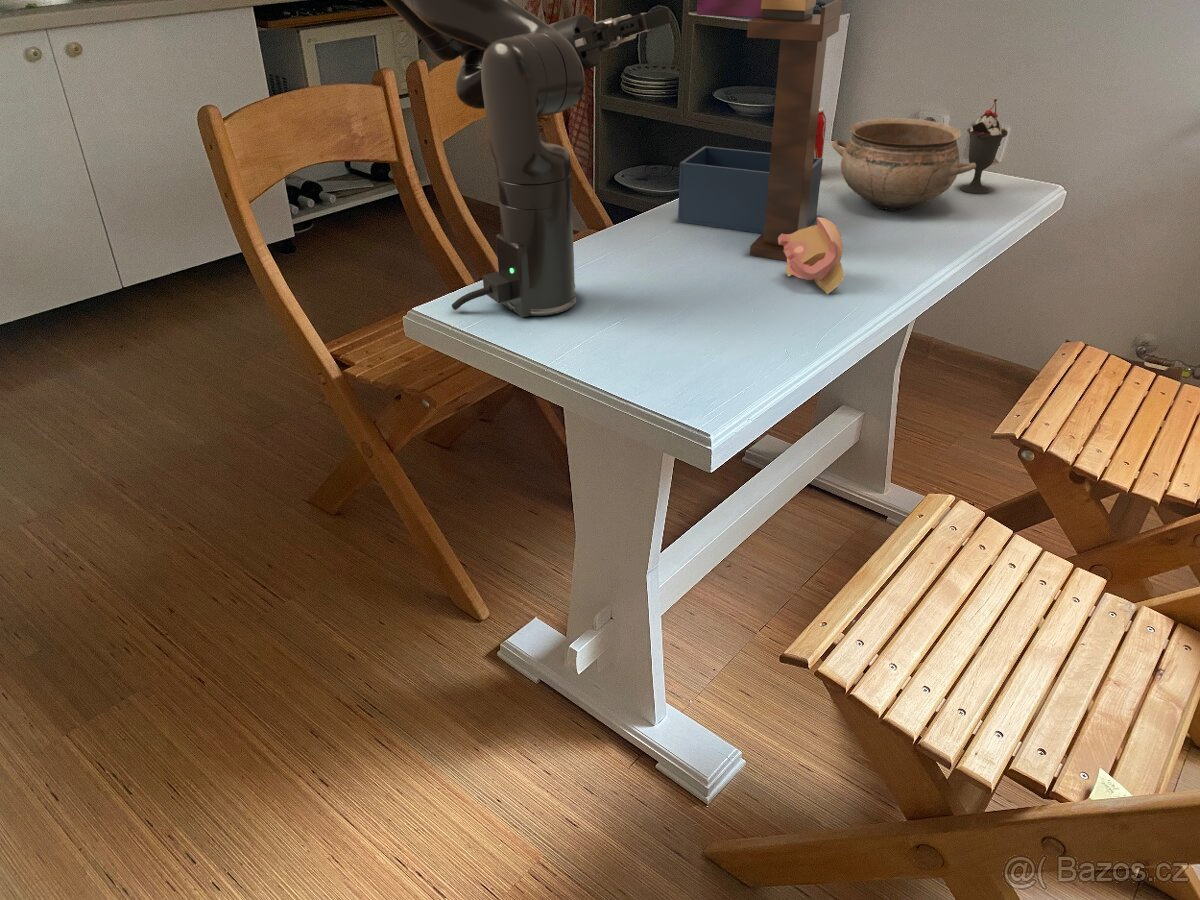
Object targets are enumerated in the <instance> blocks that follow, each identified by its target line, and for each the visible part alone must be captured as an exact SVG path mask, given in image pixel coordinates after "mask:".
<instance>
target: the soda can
mask: <svg viewBox="0 0 1200 900" xmlns="http://www.w3.org/2000/svg"><path fill="white" fill-rule="evenodd" d="M824 111H825V108H824V107H822V106H820V105H819V113H818V122H817V132H816V141H815V150H814V158H823V156H824V155H823V154H824V146H825V139H826V138H825V137H826V127H827V118H826V115H825V112H824Z"/></svg>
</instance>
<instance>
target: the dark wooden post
mask: <svg viewBox="0 0 1200 900" xmlns="http://www.w3.org/2000/svg"><path fill="white" fill-rule="evenodd" d="M842 5H843V0H833V1H831V2H830V3H826V4H825V5H823V6H821V8H820V9H821V10H820V13H819V14H816V13H815V14H814V13H813V16H812V17H810V18H808V19H806V20H804V21H791V20H769V19H762V18H755V17H754V18H752V19H750V20H748V21H747V31H746V32H747V34H746V38H747V39H748V38H749V39H763V40H765V39H768V40H780V41H779V51H778V53H779V54H778V67H777V75H776V76H777V77H776V88H775V99H774V100H775V101H774V113H773V123H772V124H773V125H772V135H771V148H770V149H771V150H770V153H771V158H770V170H769V182H768V193H767V205H766V217H765V229H764V232H763V234H762V233H761V234H760V235H759V236H758V238H757V239H756V240H754V241H753V242H752V244H751V245H750V246H749V257H750V256H751V257H758V258H765V259H771V260H778V261H784V262H787V257H786V255H785V253H784V252H783V250H784V246H783V245H779V243H778V237H779V236H780V235H781V234H792V233H794V232H796V231H798V230H800V229H804V228H806V222H807V213H808V204H809V195H810V186H811V177H812V168H813V159H814V150H815V141H816V132H817V122H818V113H819V106H820V103H821V95H822V85H823V77H824V68H825V60H826V49H827V41H828V38H830V37H832V36H833V35H835V34H837V33H839V29H840V21H841V13H842Z"/></svg>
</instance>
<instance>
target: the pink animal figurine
mask: <svg viewBox="0 0 1200 900" xmlns="http://www.w3.org/2000/svg"><path fill="white" fill-rule="evenodd" d="M842 237H843V236H842V234H841V232H840V230H839V228H838V227H837V225H835V223H833V222H832V221H831V220H829V219H827V218H825V217H816V224H815V225H811V226H808V227H807V228H804V229H800V230H798V231H796V232H794V233H792V234H781V235H780V236H779V237H778V243H779V245H783V246H784V250H783V252H784V253H785V255H786V257H787V261H786V264H787V265H786V266H785V272H786V275H787V277H791V276H795V277H796V278H799V279H803V280H806V281H811V280H813V281H814V283H815V284H816V285H817V287H819V288H820V289H821V290H822V291H823V292H825V293H826V295H828V294H830V293H832V291H834V290H835V289H836V288H837V287H838V286H839V285H840V284H841V283H842V281H843V280H844V278H845V275H844V269H843V266H842V257H843V251H844V242H843V238H842Z"/></svg>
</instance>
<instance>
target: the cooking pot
mask: <svg viewBox="0 0 1200 900" xmlns="http://www.w3.org/2000/svg"><path fill="white" fill-rule="evenodd" d="M849 131H850V133H851V137H850V138H849V140H848V142H846V141H844V140H842V139H835V140H833V141H832V143H831V147H832V148H833V150H835V151H836V153H837V154H838V155H839V156H841V162H840V170H841V174H842V176H843V177H842V178H843V179H844V182H845V183H846V185H847V186H848V187H849V188H850V189H851V190H852V191H853V192H855V194H857V195H858V196H860V197H861V198H863V199H864V200H866V201H868V202H869V203H871V204H872V205H873V206H874V207H876V208H878V209H882V210H887V211H898V212H899V211H907V210H911V209H912V208H914V207H917V206H919V205H921V204H924V203H926V202H929V201H932V200H933V199H936V198H938V197H939V196H941V195H942V194H943V193H944V192H946V191H947V190H949V189H950V188H951V186H952V185H953V183H954V181H955V180H956V179H957V177H958V175H962V174H964V173H967V172H970V171H973V170H975V168H976V164H975V163H969V162H968V163H960V152H959V147H958V143H957V140H959V139H960V138H961V136H962V132H961V131H960V130H959V129H957V128H956V127H954V126H952V125H948V124H946V123H942V122H938V121H934V120H933V121H931V120H925V119H919V118H900V117H888V118H887V117H885V118H873V119H866V120H862V121H858V122H856V123H854V124H852V125H851V126H849Z"/></svg>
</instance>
